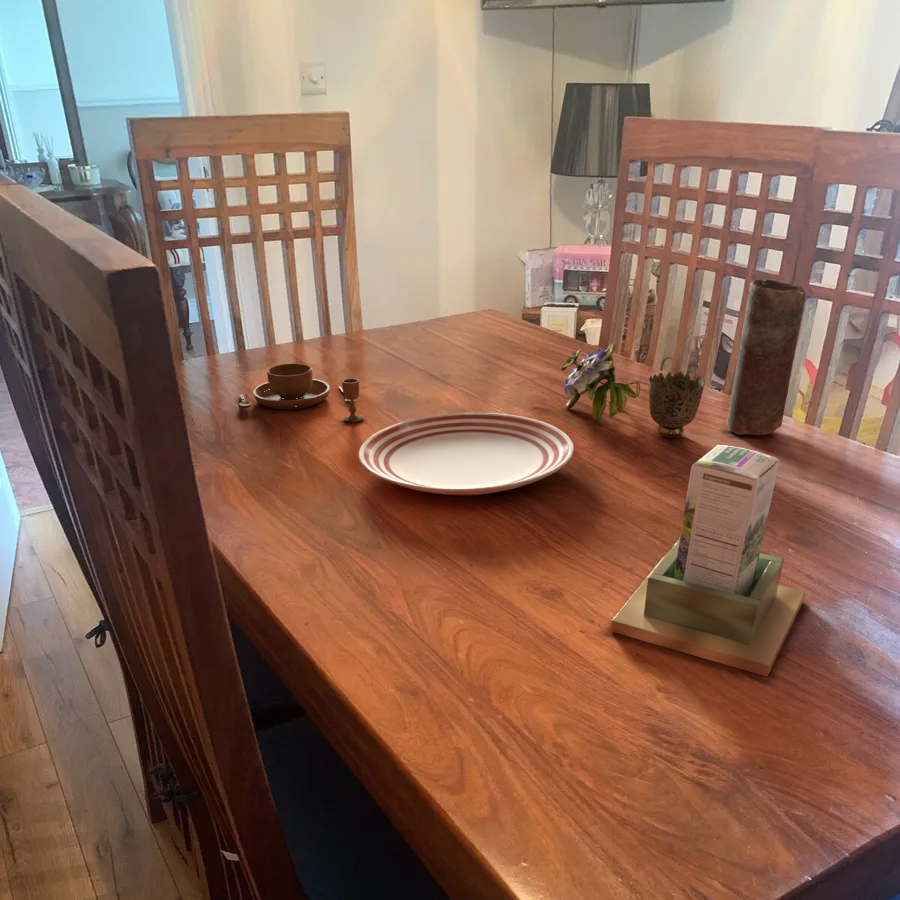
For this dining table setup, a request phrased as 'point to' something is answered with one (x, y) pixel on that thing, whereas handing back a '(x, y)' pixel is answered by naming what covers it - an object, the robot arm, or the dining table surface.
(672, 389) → the cup
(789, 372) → the tall brown vase
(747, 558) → the syrup box
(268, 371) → the place setting
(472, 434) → the dinner plate
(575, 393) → the passion flower
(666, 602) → the socket pad
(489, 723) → the dining table surface
